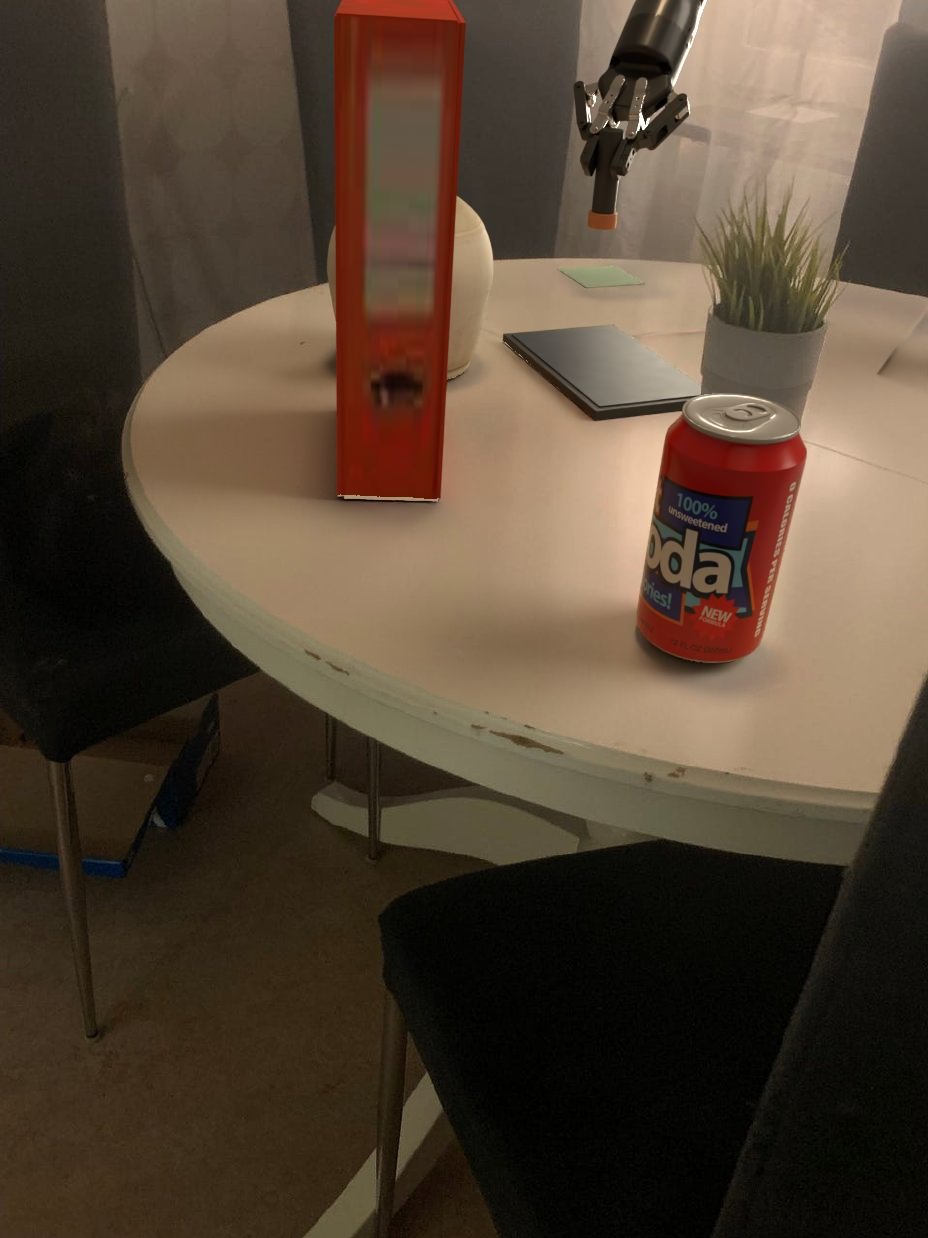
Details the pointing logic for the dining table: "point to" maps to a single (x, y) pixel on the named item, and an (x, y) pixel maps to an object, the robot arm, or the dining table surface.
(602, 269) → the pad
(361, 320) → the file binder
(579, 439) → the dining table surface
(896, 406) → the dining table surface
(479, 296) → the jug
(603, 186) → the black orange cylinder
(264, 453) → the dining table surface
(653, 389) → the tablet
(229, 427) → the dining table surface
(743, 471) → the soda can
